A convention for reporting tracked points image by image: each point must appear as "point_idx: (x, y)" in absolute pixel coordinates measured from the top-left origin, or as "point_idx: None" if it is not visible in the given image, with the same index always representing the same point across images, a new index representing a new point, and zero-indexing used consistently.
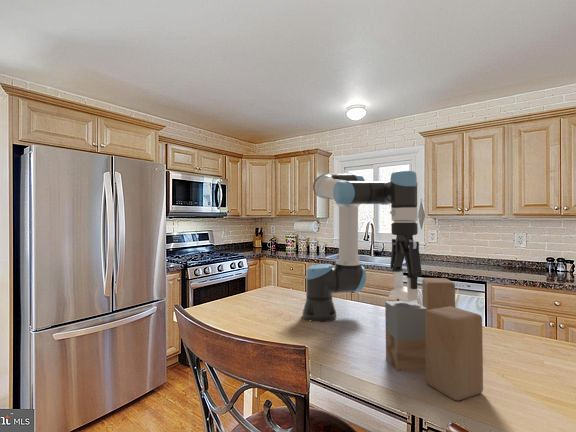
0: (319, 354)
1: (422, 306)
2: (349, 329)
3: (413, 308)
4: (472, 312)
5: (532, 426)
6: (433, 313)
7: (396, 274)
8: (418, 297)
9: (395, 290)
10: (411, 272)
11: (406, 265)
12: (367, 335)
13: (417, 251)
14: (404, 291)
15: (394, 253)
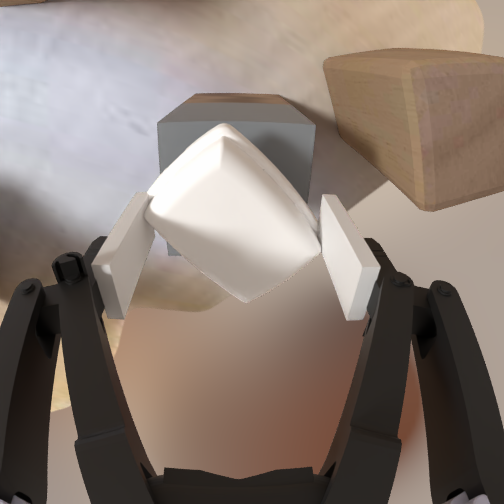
0: (171, 301)
1: (279, 127)
2: (20, 209)
3: (303, 186)
4: (501, 73)
5: None
6: (457, 204)
7: (125, 295)
8: (247, 140)
9: (262, 292)
10: (413, 344)
11: (351, 386)
12: (50, 173)
13: (496, 451)
14: (300, 264)
15: (40, 429)
